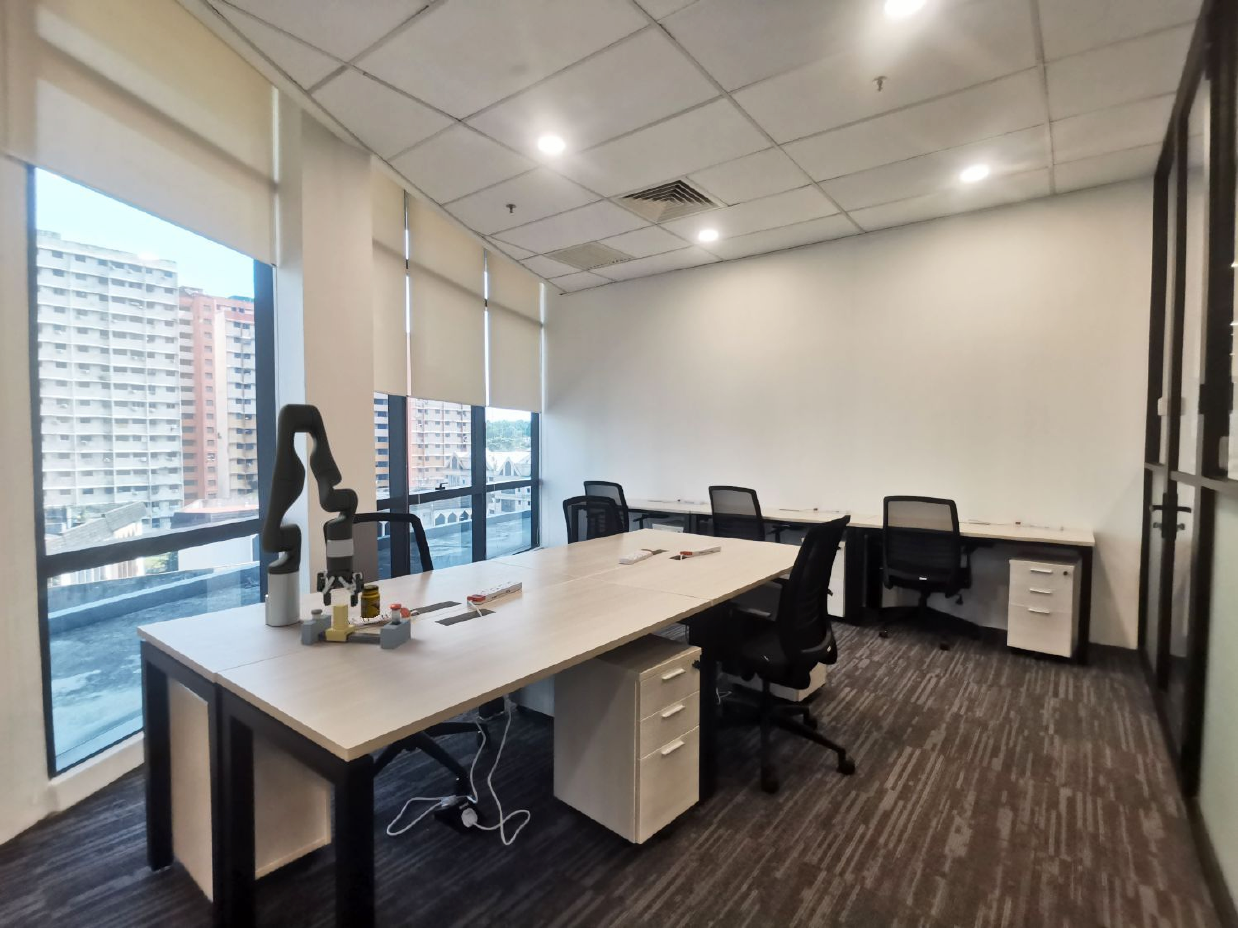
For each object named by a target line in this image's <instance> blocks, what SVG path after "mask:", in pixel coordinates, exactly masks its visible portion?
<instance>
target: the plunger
mask: <svg viewBox="0 0 1238 928" xmlns="http://www.w3.org/2000/svg"><path fill="white" fill-rule="evenodd" d="M389 608H390V610H391V622H392V625H399V624H400V618H401V609H402V604H401V603H392V604H390V605H389Z"/></svg>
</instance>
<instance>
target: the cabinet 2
mask: <svg viewBox="0 0 1238 928" xmlns="http://www.w3.org/2000/svg"><path fill="white" fill-rule="evenodd" d="M411 620H412V618H407V617H405V618H403V617H402V618H401V617H400V624H399V625H392V621H390V622H388V623H387V624H385V625H384V626H383V625H382V626H381V627H380V628H379V629H380V630H379V631H380V632H379V634H380V644H379V645H380V649H389V650H395V649H396V648H398V647H400V646H401V645H403V644H404V643H406V642H407V641H408V640H409V639H411V638H412V636H411V635H412V633H411V632H412V631H411V629H412V627H411V625H412V623H411V622H412V621H411Z"/></svg>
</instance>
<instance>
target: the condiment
mask: <svg viewBox="0 0 1238 928" xmlns="http://www.w3.org/2000/svg"><path fill="white" fill-rule="evenodd" d="M379 588H380V587H379V585H377V584H368V585H364V589H365V590H364V591H363V592H361V595H360V618H361V617H362V618H374V617H376V616H378V615H380V616H381V594H380V591H379V590H380V589H379Z"/></svg>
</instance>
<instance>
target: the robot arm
mask: <svg viewBox="0 0 1238 928" xmlns="http://www.w3.org/2000/svg"><path fill="white" fill-rule="evenodd" d="M324 424H325V423H324V420H323V417H322V415H321V412H320V410H319V408H318V407H317V406H315V405H314V404H307V403H306V404H305V403H284V404H283V405H281V407H280V409H279V411H278V417H277V430H276V431H277V433H276V434H277V435H276V448H275V449H276V450H275V459H274V466H273V470H272V475H271V476H272V477H271V484H270V485H271V486H270V493H269V500H268V506H267V512H266V516H265V519H264V524H263V528H262V532H261V548H262V550H263V551H264V553H267V554H276V553H277V554H279V553H283V555H281V556H280V557H279V558H278V559H276V560H274V561H272V562H271V563H269V564H268V565H267V594H266V595H265V598H264V600H265V601H264V602H265V603H264V606H265V607H264V609H265V614H264V615H265V618H264V619H265V625H268V626H271V627H272V626H273V627H284V626H289V625H292V624H293V625H294V624H296V623H298V622H300V621H301V595H300V594H301V592H300V591H301V589H300V588H301V586H300V585H301V584H300V581H301V580H300V578H301V577H300V572H301V571H300V568H301V561H302V542H303V541H302V539H303V538H302V535H303V534H302V530H301V528H300V526H299V525H298V524H297V523H284V524H283V523H282V521H283V519H284V516H285V515H286V513H287V512H288V510H289V509H290V508H291V507H292V506H293V505H294V503H296V501H297V500H298V499H299V498H300V496H302V493H303V491H304V488H305V480H306V467H305V466H304V463H303V462H302V460H301V458H300V457H299V455H298V453H297V450H296V449H295V436H296V433H297V434H299V433H300V434H301V433H302V434H304V433H305V434H306V433H308V434H309V436H310V437H311V440H312V442H313V445H312V449H311V453H310V456H309V466H310V469H311V472H312V474H313V477H314V478H315V481H316V483H317V491H318V499H319V505H320V507H321V509H322V510H324V511H325V512H326V513H329V514H332V513H339V514H338V517H336V518H334V519H332V520H330V521H328V522H327V524H326V549H325V550H326V551H325V552H326V553H325V554H326V556H325V557H326V570H327V572H326V571H325V570H323V571H321V572H317V574H316V591H317V592H318V593H322V598H323V599H322V600H323V604H324V606H325V607H329V606H331V605H332V590H333V589H334V588H337V587H339V588H345V589H346V590H348V592H349V593H350V600H349V601H350V607H351V608H354V607H357V605H358V604H359V594H360V593H362V592H363V591H364V590H365V589H364V586H365V578H364V576H365V575H364V572H363V571H361V572H354V566H355V563H354V558H355V555H354V554H355V553H354V551H355V548H354V539H353V524H354V521H355V517H356V515H357V514H356V513H357V509H358V505H359V497H358V495H357V492H356V491H355V490H354V489H352V488H348V487H347V488H334V487H336V486H338V485H339V484H340V483H341V482H342V480H343V477H342V473H341V472H340V469H339V468H338V465H337V463H336V460H335V458H334V456H333V454H332V451H331V448H330V444H329V439H328V436H327V435H328V434H327V431H326V428H325V425H324ZM326 579H327V580H328V581H326ZM353 579H354V580H353Z"/></svg>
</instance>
